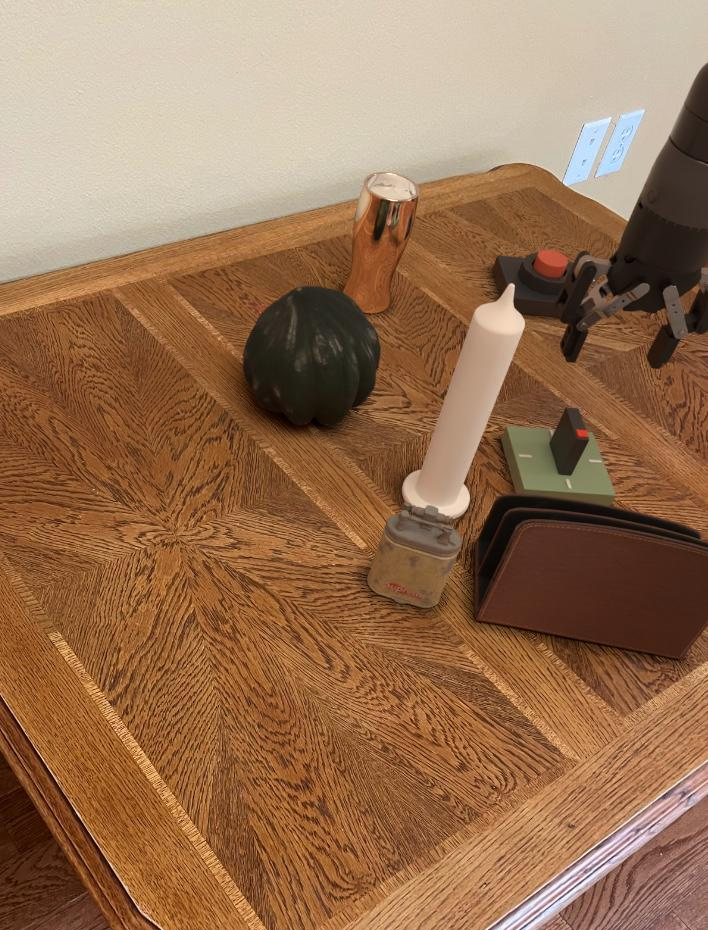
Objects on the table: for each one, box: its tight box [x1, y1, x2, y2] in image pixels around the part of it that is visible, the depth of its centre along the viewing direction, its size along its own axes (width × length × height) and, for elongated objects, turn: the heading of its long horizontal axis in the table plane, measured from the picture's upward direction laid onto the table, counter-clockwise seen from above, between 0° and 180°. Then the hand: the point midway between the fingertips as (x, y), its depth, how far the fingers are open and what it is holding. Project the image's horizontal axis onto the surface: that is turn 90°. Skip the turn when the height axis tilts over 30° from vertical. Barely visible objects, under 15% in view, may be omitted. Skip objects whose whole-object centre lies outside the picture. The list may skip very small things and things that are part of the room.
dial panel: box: [500, 425, 617, 506], centre depth 102 cm, size 10×10×2 cm
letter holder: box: [474, 493, 708, 661], centre depth 85 cm, size 10×20×14 cm, turn 81°
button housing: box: [491, 252, 590, 318], centre depth 124 cm, size 11×10×4 cm
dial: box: [549, 406, 589, 475], centre depth 99 cm, size 5×1×5 cm, turn 1°
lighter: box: [366, 501, 463, 609], centre depth 85 cm, size 7×4×10 cm, turn 73°
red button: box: [533, 249, 569, 278], centre depth 122 cm, size 4×4×2 cm
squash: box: [242, 285, 382, 426], centre depth 101 cm, size 14×15×15 cm
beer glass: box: [342, 171, 421, 314], centre depth 114 cm, size 7×7×15 cm
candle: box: [401, 283, 526, 520], centre depth 88 cm, size 7×7×25 cm
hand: (610, 360), depth 91 cm, fingers open, 8 cm apart
